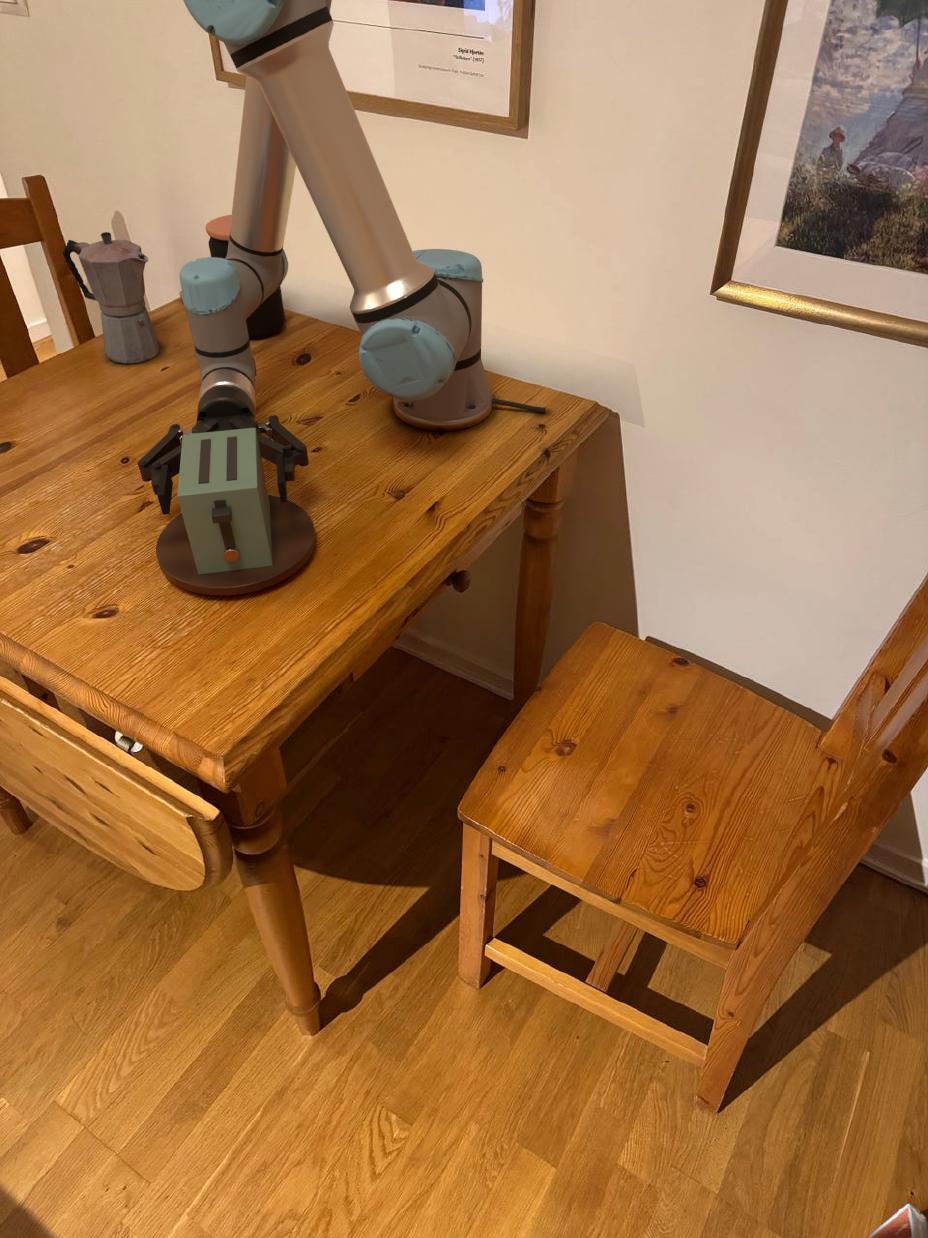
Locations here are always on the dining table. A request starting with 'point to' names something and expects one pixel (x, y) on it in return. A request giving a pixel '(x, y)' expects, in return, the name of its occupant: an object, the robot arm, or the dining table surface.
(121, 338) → the moka pot
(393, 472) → the dining table surface
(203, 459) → the toaster
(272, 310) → the coffee jar
